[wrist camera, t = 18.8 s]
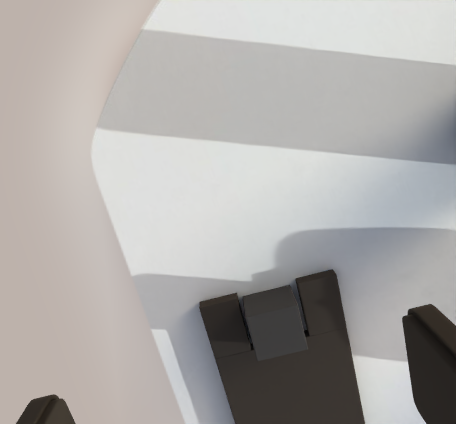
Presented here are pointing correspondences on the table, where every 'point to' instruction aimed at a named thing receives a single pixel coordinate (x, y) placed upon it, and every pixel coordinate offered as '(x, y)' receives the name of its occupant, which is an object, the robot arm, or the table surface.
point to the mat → (288, 362)
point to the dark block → (274, 323)
